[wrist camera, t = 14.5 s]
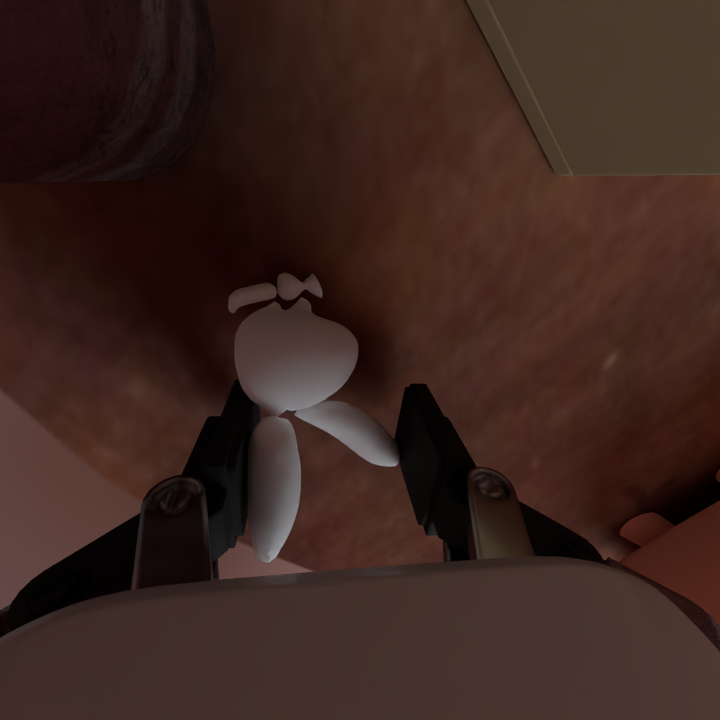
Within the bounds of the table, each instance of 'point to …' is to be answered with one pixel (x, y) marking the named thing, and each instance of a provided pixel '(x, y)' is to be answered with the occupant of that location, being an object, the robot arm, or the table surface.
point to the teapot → (680, 554)
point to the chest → (613, 81)
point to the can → (101, 87)
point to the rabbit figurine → (295, 400)
